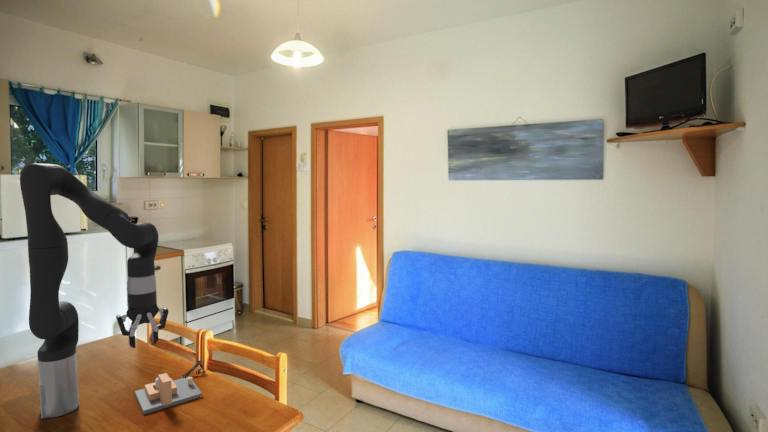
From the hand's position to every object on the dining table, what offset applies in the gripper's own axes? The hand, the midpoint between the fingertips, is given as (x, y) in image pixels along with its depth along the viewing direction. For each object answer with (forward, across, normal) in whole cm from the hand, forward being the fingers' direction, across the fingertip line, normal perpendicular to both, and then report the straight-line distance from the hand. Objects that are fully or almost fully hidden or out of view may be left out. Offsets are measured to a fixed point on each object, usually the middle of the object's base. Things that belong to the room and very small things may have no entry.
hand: (144, 344), depth 127 cm
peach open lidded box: (+20, +5, +5) cm, 21 cm away
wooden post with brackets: (+22, +18, +18) cm, 34 cm away
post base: (+21, +7, +7) cm, 24 cm away
